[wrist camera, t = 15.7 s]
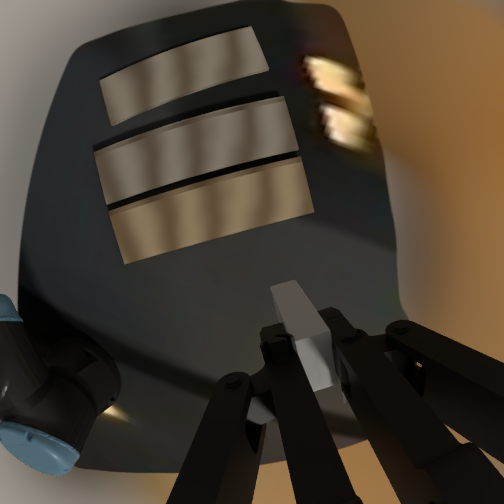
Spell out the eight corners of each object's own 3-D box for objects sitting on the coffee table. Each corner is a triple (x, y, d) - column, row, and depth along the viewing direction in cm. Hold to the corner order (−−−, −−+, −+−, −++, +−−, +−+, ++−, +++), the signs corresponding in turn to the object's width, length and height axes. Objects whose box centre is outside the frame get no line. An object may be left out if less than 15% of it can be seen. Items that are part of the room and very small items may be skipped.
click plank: (109, 204, 41) (106, 204, 40) (97, 153, 39) (93, 152, 38) (296, 150, 41) (298, 149, 40) (282, 98, 39) (283, 95, 38)
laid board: (127, 262, 43) (124, 264, 42) (111, 210, 41) (108, 211, 40) (311, 211, 43) (314, 212, 42) (298, 157, 41) (300, 156, 40)
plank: (113, 126, 39) (111, 125, 38) (102, 82, 37) (99, 80, 36) (268, 71, 39) (269, 68, 38) (250, 29, 37) (251, 26, 36)
